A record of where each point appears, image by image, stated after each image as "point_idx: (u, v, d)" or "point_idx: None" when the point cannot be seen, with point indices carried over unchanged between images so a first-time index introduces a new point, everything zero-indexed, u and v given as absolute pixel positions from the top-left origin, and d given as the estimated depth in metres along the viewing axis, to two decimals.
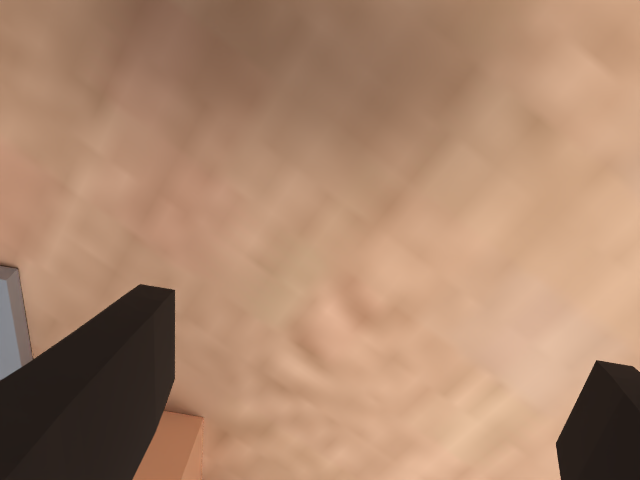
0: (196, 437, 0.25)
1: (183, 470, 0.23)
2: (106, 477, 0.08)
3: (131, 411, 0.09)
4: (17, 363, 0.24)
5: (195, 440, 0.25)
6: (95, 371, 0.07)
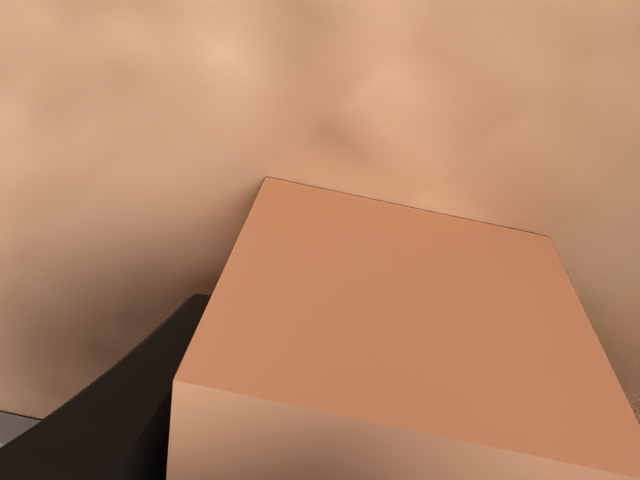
0: (257, 207, 0.09)
1: (225, 268, 0.08)
2: None
3: None
4: None
5: (257, 212, 0.09)
6: (170, 384, 0.07)
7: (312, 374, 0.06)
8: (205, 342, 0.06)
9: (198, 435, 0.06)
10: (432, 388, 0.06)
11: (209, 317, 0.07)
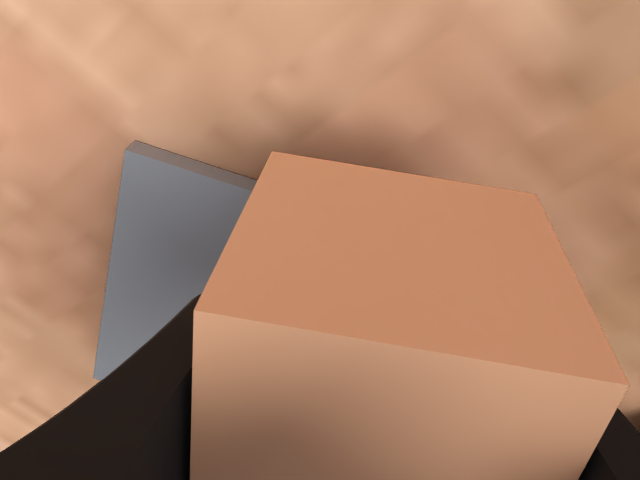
0: (264, 176, 0.10)
1: (237, 225, 0.09)
2: None
3: None
4: None
5: (264, 180, 0.10)
6: (175, 385, 0.07)
7: (314, 305, 0.07)
8: (220, 281, 0.07)
9: (216, 361, 0.07)
10: (419, 314, 0.07)
11: (223, 263, 0.08)
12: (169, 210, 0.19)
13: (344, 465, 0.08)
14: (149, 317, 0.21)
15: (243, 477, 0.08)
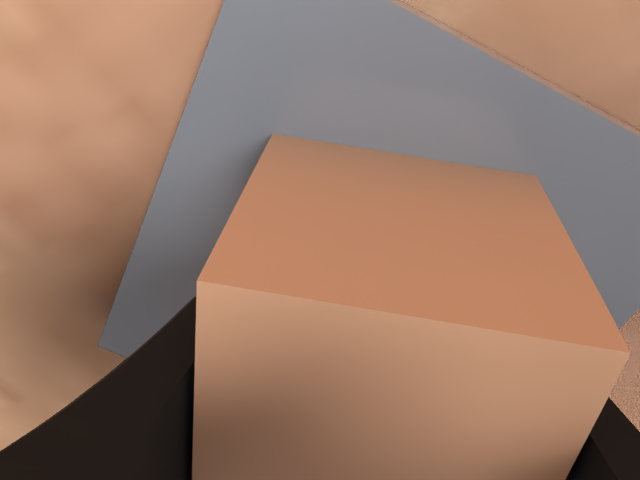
0: (265, 157, 0.10)
1: (238, 202, 0.09)
2: None
3: None
4: (474, 57, 0.10)
5: (265, 160, 0.10)
6: (174, 385, 0.07)
7: (316, 276, 0.07)
8: (223, 254, 0.07)
9: (219, 332, 0.07)
10: (422, 286, 0.07)
11: (225, 237, 0.08)
12: (303, 63, 0.10)
13: (346, 438, 0.08)
14: None
15: (246, 454, 0.08)
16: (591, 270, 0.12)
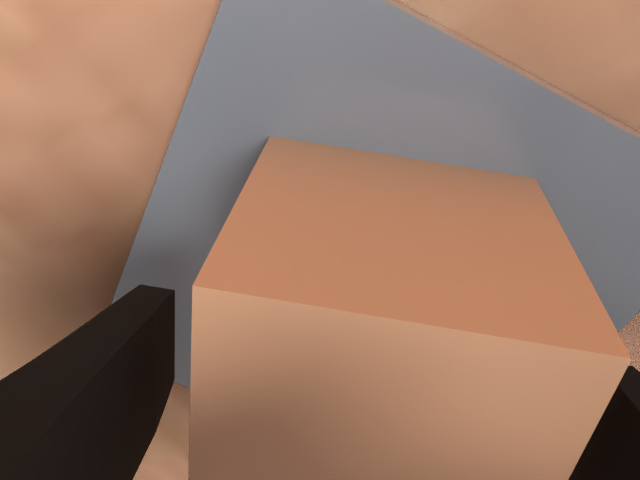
0: (262, 160, 0.10)
1: (235, 206, 0.08)
2: (106, 477, 0.08)
3: (131, 411, 0.09)
4: (472, 59, 0.10)
5: (262, 163, 0.10)
6: (95, 371, 0.07)
7: (314, 281, 0.07)
8: (219, 259, 0.07)
9: (215, 338, 0.07)
10: (421, 291, 0.07)
11: (222, 241, 0.08)
12: (301, 65, 0.10)
13: (344, 445, 0.08)
14: None
15: (243, 459, 0.08)
16: (591, 272, 0.12)
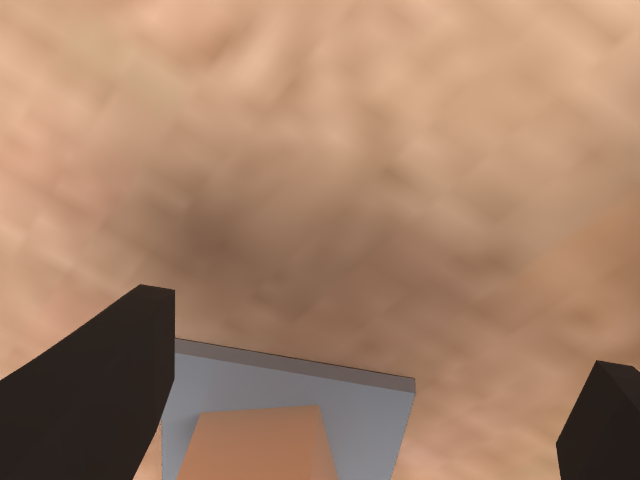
0: (195, 434, 0.23)
1: (179, 471, 0.22)
2: (106, 477, 0.08)
3: (131, 411, 0.09)
4: (267, 371, 0.23)
5: (194, 436, 0.23)
6: (95, 371, 0.07)
7: None
8: None
9: None
10: None
11: None
12: (201, 387, 0.23)
13: None
14: None
15: None
16: (367, 434, 0.24)
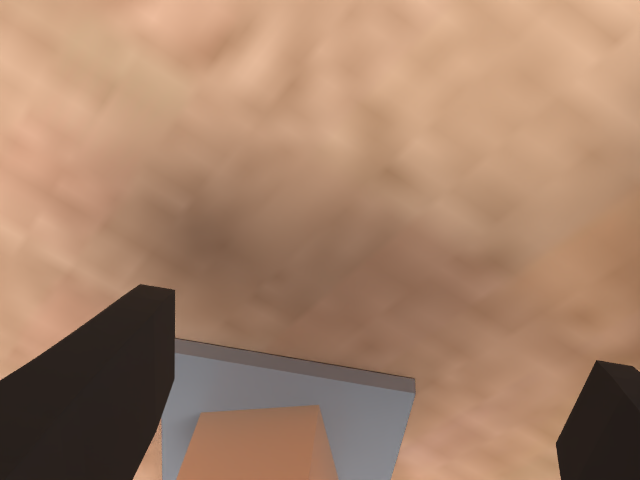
0: (195, 434, 0.23)
1: (180, 471, 0.22)
2: (106, 477, 0.08)
3: (131, 411, 0.09)
4: (267, 371, 0.23)
5: (194, 436, 0.23)
6: (95, 371, 0.07)
7: None
8: None
9: None
10: None
11: None
12: (201, 387, 0.23)
13: None
14: None
15: None
16: (367, 434, 0.24)
